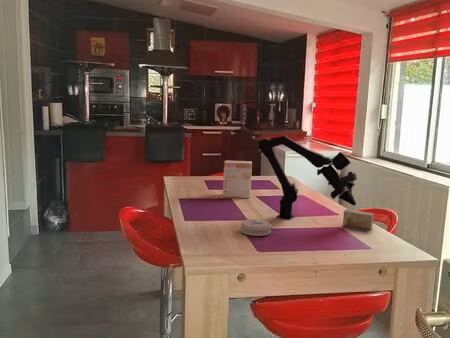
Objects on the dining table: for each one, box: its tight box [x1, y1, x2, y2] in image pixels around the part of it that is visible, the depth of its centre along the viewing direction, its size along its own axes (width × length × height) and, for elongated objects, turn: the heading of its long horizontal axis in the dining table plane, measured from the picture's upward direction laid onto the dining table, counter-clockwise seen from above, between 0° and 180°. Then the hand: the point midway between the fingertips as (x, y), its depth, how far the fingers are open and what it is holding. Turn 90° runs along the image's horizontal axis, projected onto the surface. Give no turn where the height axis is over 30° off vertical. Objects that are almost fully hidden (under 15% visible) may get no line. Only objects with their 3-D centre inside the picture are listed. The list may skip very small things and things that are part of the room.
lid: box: [240, 218, 272, 237], centre depth 185 cm, size 13×13×5 cm
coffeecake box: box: [222, 159, 253, 199], centre depth 247 cm, size 15×7×20 cm, turn 84°
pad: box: [342, 224, 370, 233], centre depth 199 cm, size 10×10×1 cm
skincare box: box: [342, 208, 374, 230], centre depth 199 cm, size 6×4×12 cm
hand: (355, 204), depth 199 cm, fingers closed
